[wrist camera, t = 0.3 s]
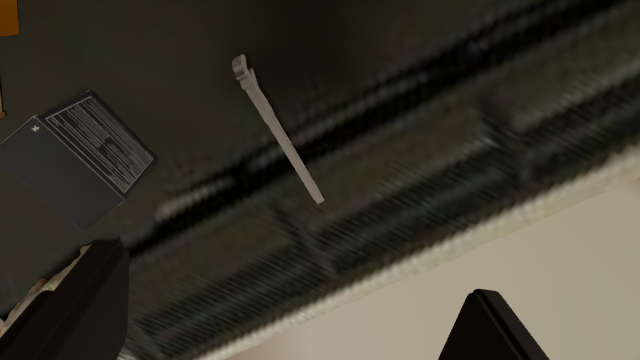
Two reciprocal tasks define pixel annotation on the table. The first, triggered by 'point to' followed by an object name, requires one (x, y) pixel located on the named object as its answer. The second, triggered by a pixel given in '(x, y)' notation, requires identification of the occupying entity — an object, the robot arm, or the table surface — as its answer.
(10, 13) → the tape case
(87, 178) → the small box
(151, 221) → the table surface
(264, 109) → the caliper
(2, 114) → the tape blade
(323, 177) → the table surface
